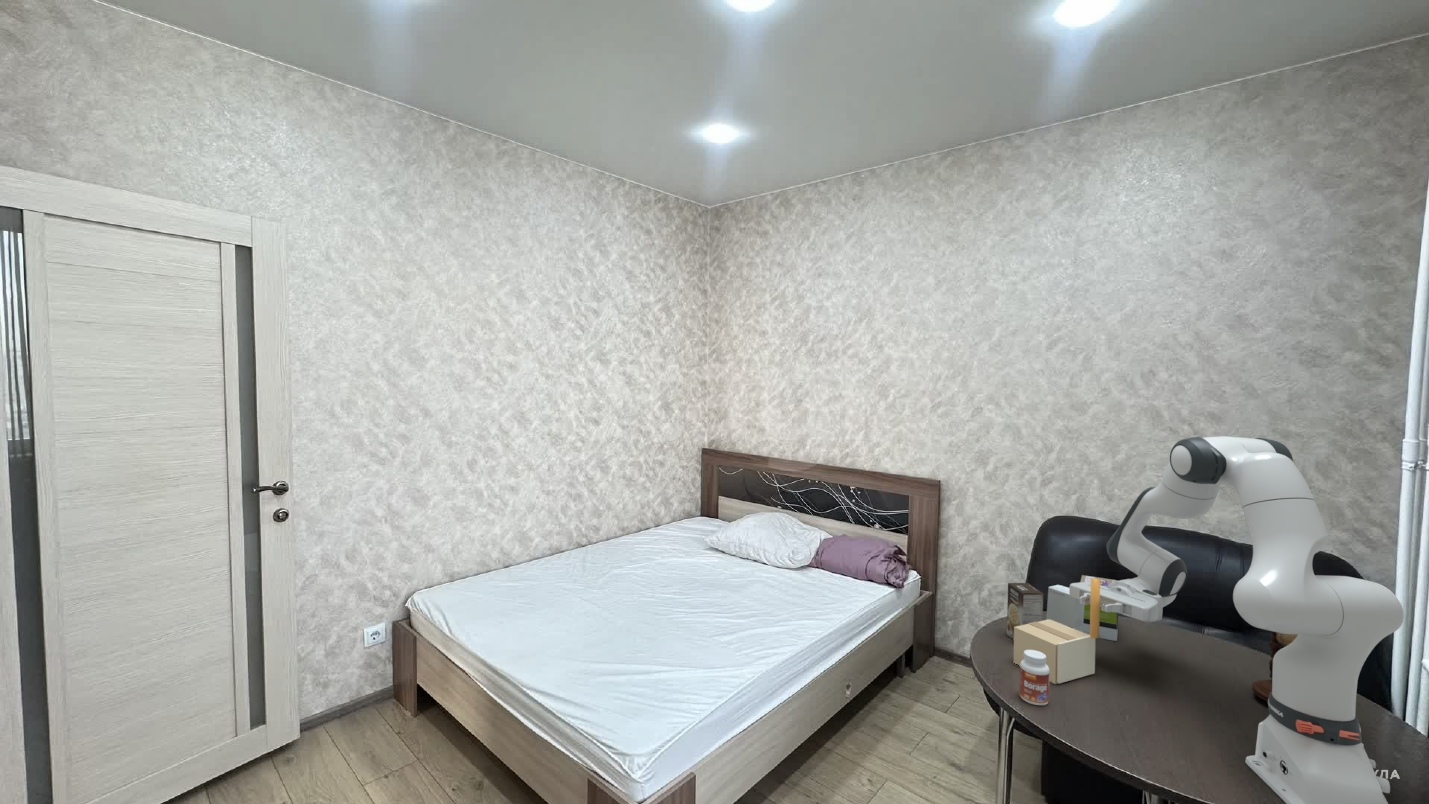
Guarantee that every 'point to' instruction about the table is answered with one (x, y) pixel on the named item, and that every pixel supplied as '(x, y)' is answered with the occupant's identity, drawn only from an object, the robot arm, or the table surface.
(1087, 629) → the tea box
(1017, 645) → the carton
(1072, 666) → the cleaver with orange handle
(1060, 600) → the skincare box
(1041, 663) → the pill bottle
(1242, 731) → the table surface
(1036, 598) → the coffee box
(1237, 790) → the table surface
